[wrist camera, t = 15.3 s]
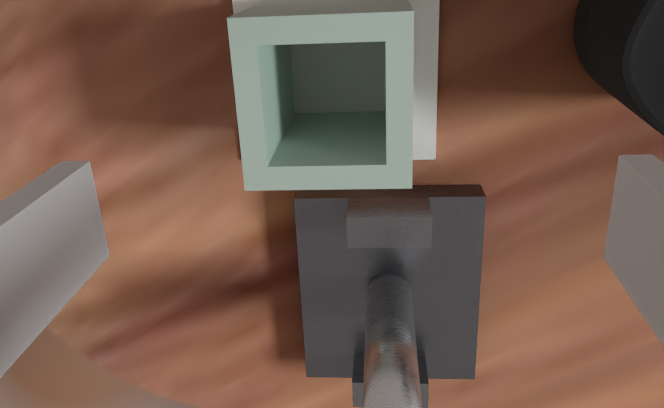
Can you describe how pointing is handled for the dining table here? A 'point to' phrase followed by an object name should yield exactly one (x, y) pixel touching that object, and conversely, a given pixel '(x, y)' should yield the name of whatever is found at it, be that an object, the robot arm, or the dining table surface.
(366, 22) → the sleeve
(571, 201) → the dining table surface
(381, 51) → the mat
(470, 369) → the block with threaded rod
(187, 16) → the dining table surface
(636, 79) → the pen holder
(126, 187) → the dining table surface
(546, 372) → the dining table surface
